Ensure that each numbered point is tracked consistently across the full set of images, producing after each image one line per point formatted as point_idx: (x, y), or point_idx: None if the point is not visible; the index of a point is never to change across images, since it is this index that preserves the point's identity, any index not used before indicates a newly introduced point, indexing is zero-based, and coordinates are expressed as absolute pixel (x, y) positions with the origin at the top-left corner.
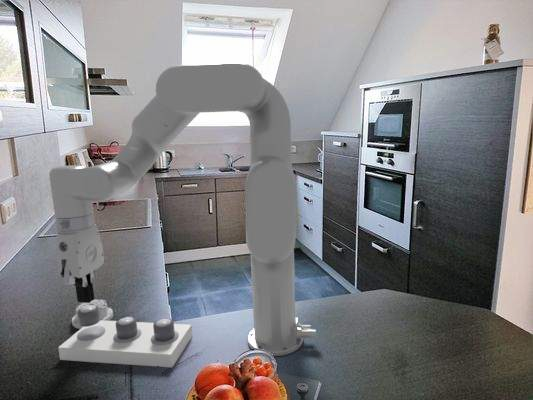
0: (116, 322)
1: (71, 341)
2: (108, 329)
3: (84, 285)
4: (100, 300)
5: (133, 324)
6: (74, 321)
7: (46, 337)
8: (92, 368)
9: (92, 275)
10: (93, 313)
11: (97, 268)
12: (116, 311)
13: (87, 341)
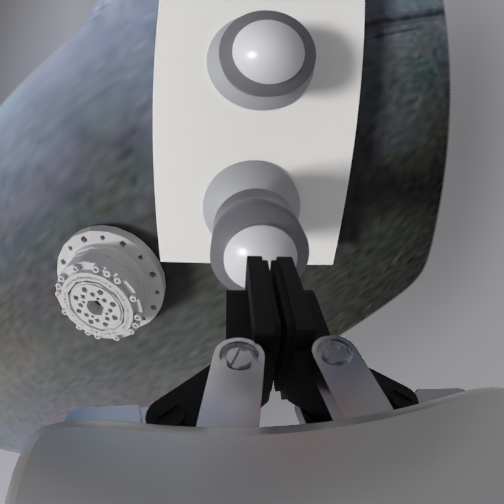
0: (276, 93)
1: None
2: (219, 159)
3: (353, 348)
4: (62, 295)
5: (282, 14)
6: (150, 313)
7: (218, 335)
8: (364, 133)
9: (229, 388)
10: (286, 213)
11: (93, 408)
12: (56, 236)
13: (304, 193)
